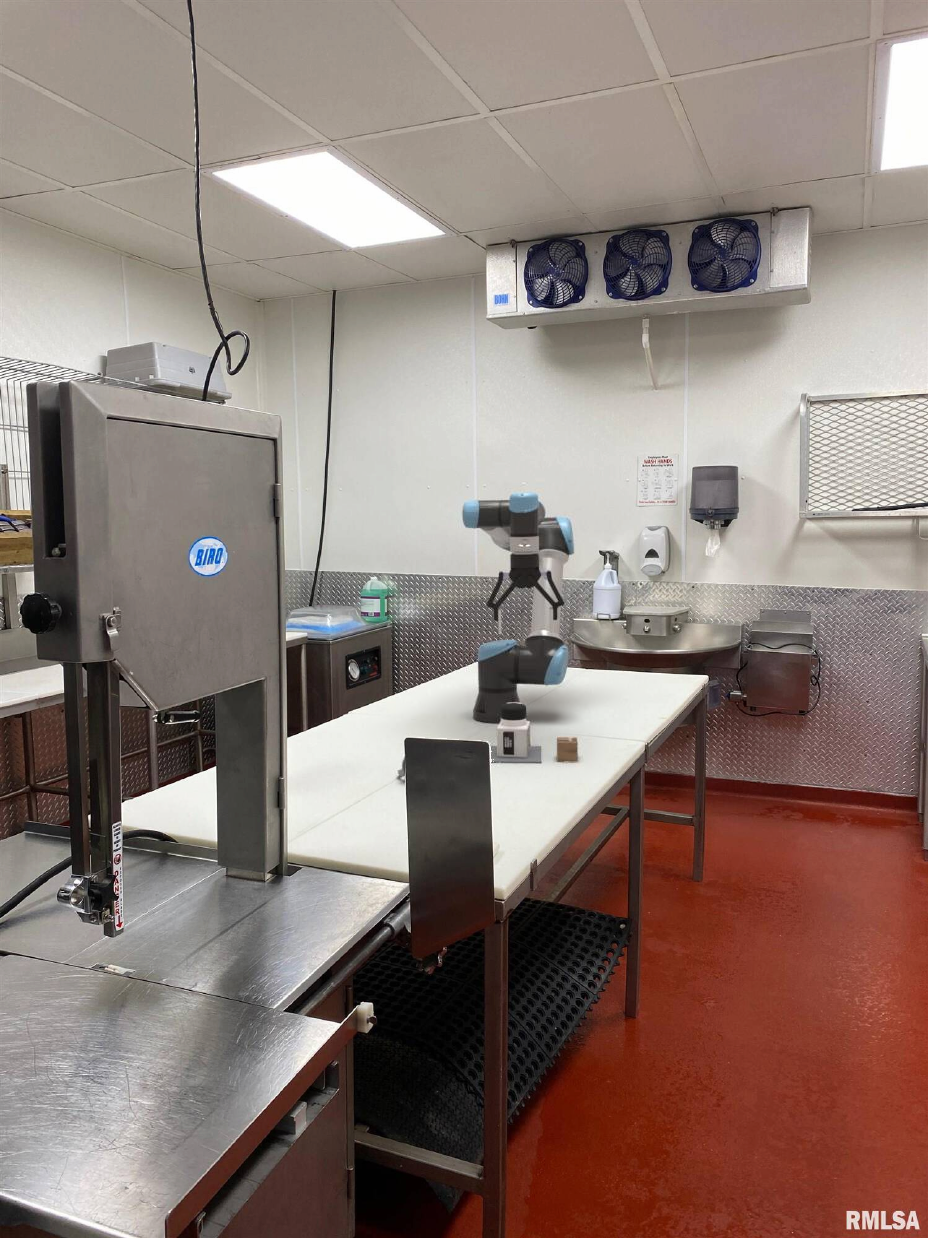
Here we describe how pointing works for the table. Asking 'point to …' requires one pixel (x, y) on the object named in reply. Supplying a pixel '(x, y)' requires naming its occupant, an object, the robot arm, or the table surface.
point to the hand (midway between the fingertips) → (525, 632)
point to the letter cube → (567, 749)
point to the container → (513, 731)
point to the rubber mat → (532, 757)
